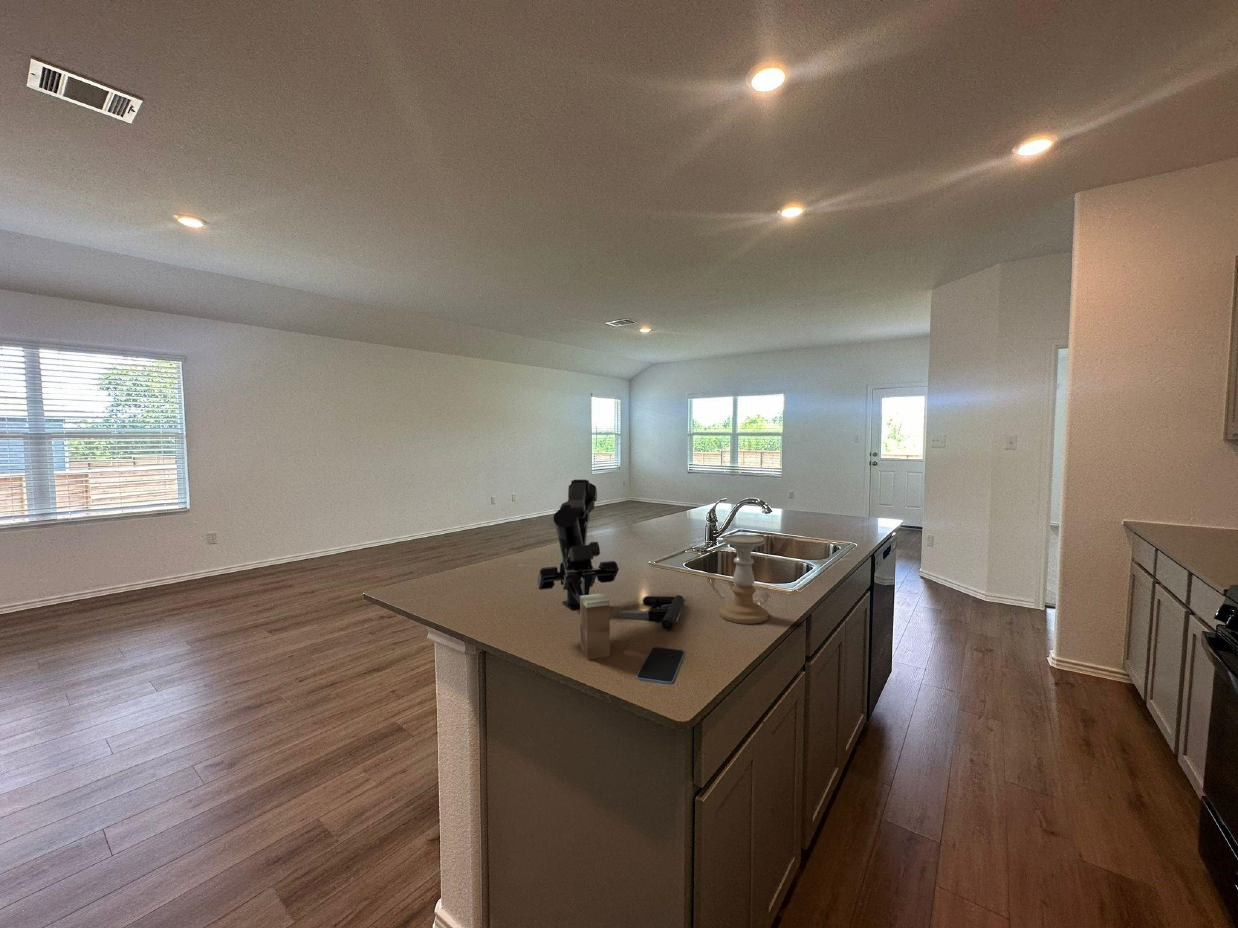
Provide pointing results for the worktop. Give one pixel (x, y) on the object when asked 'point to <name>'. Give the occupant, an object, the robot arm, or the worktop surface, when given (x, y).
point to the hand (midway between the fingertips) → (585, 607)
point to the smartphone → (661, 665)
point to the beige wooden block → (595, 626)
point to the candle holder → (743, 583)
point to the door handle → (658, 610)
